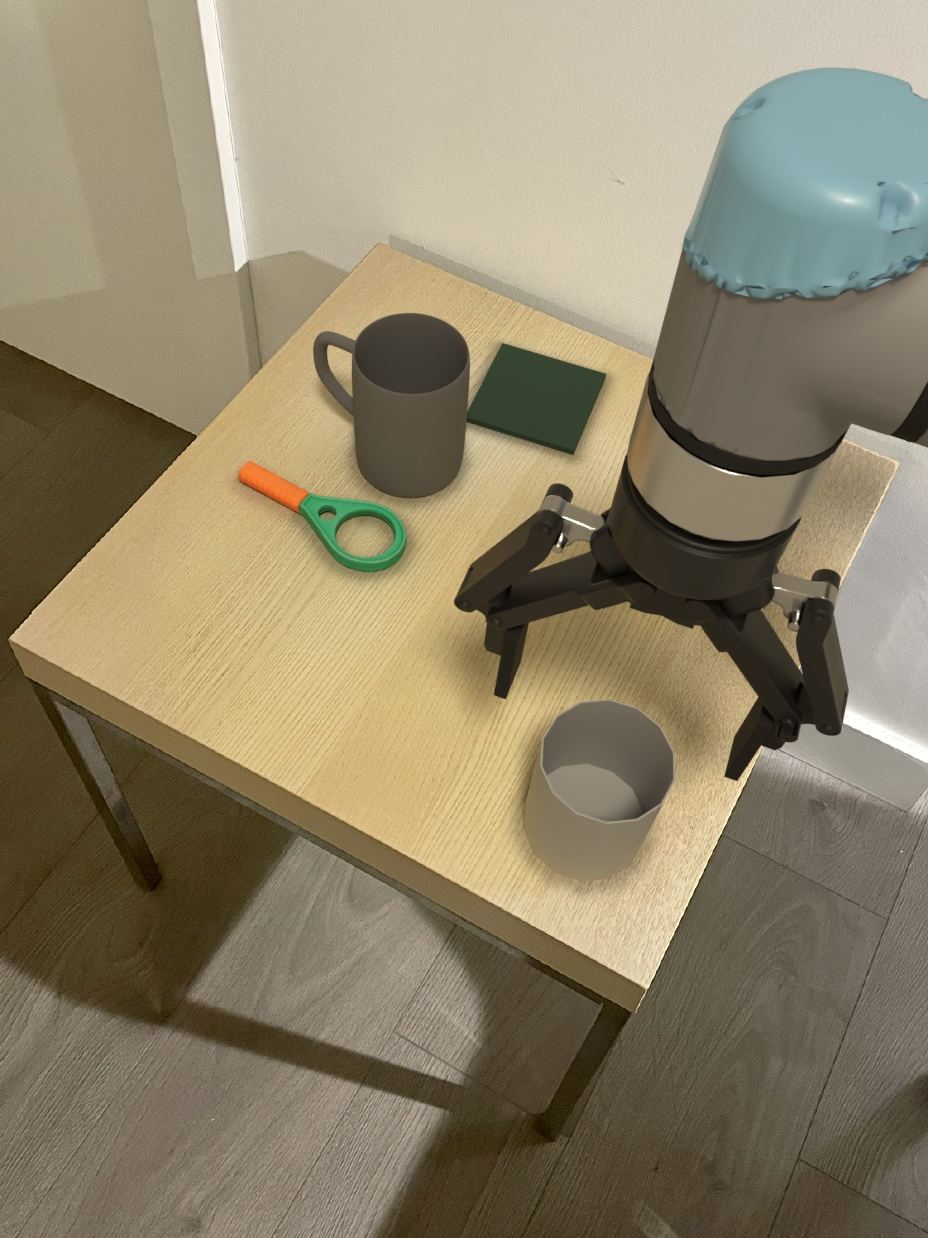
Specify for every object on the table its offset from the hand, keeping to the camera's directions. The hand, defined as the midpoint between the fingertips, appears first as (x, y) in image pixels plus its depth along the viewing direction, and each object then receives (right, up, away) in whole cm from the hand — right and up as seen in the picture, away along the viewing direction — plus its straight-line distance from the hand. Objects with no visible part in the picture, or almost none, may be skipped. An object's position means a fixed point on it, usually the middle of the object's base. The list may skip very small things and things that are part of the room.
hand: (619, 718), depth 61 cm
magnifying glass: (-20, +14, +26) cm, 36 cm away
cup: (-1, -8, +13) cm, 15 cm away
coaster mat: (-2, +25, +34) cm, 43 cm away
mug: (-15, +20, +30) cm, 40 cm away
